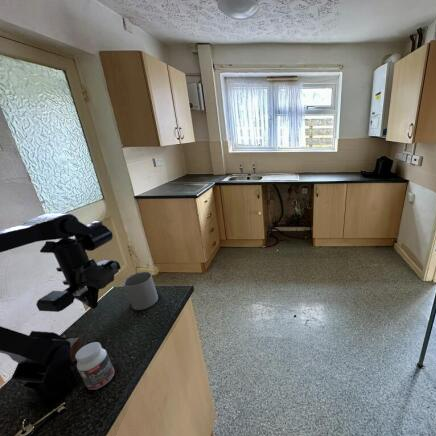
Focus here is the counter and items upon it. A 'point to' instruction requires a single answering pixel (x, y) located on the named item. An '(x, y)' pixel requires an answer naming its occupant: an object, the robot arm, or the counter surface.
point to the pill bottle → (94, 365)
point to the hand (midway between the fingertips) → (94, 307)
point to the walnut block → (74, 348)
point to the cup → (141, 290)
